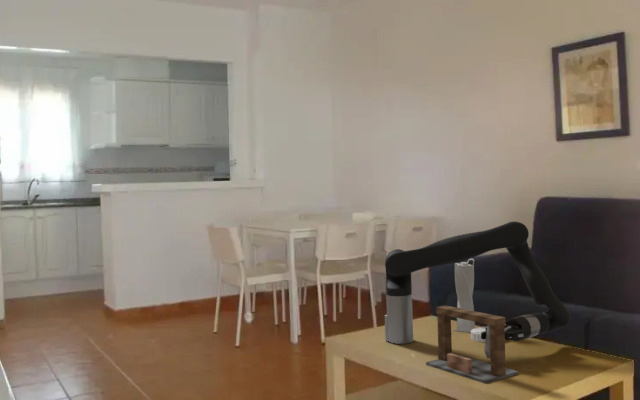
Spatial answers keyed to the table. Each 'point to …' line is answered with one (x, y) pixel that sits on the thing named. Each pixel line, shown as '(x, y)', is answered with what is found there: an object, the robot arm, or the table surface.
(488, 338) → the salt shaker
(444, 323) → the gateway
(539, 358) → the table surface
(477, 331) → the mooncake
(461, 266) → the skyscraper
